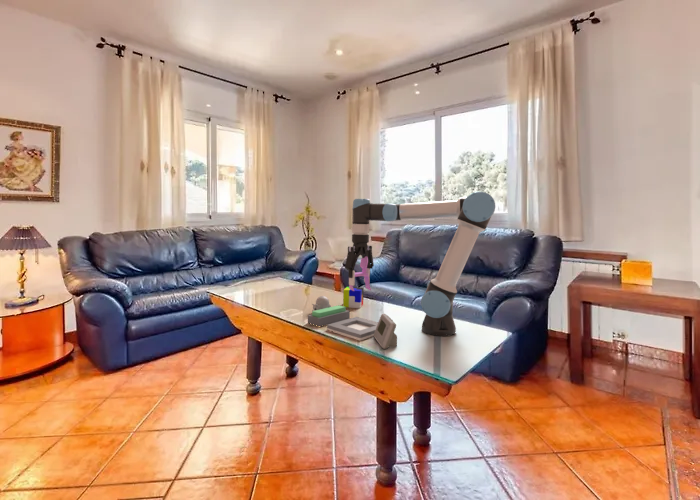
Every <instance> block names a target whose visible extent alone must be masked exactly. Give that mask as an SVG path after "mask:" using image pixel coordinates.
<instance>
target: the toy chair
mask: <svg viewBox="0 0 700 500" xmlns="http://www.w3.org/2000/svg"><path fill="white" fill-rule="evenodd" d="M367 265H368V257H367V256H366V257H364V258H361V259H360V262H359V266H360V268H361V271H359V272H358V271H357V272H356V271H355V278H357V277H363V279H364V278H365V282H364V283H365V288H366V289H367V290H369V291H372V288H371V286H370V285H371V284H370V283H369V276H368V274H366V271H367ZM348 287H349V289H351V290H352V291H354V288H353V287H354V286H353V285H349V284H348Z"/></svg>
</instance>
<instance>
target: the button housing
mask: <svg viewBox="0 0 700 500" xmlns="http://www.w3.org/2000/svg"><path fill="white" fill-rule="evenodd" d="M350 312H351V311H350V310H347V309H346V311H344V312H340V313H336V314H332V315H328V316H324V317H320V318H318V317H315V316H312V313H311V314H307V324H308V323H311V324H314V325H317V326H321V327H323V326H322V325H325V326H327V325H328V324H332V323H335V322H339V321H343V320H346V319H350V317H351V316H350ZM311 324H310V325H311ZM314 325H313V326H314ZM317 326H316V327H317Z"/></svg>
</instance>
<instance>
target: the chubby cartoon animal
mask: <svg viewBox="0 0 700 500" xmlns="http://www.w3.org/2000/svg"><path fill="white" fill-rule="evenodd" d="M311 304H312V310H311V312H312V311H315V310H320V309H324V308H329V307H332V305H331V304H330V300H329V298H328V297H327V296H325V295H321V296H318V297H317V299H316V300H315V304H314V303H311Z"/></svg>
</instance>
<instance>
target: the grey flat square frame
mask: <svg viewBox="0 0 700 500" xmlns="http://www.w3.org/2000/svg"><path fill="white" fill-rule="evenodd" d="M378 322H379V321H378ZM378 322H377V321H374V320H370V319H368V318H363V317H359V316H355V317H351V318H350V319H346V320H343V321H339V322H335V323H332V324H328V325H326V331H328V330H330V331H329V332H331V331H333V332H332V333H335V334H338V335H341V336H344V337H347V338H350V339H354V340H357V341H360V342H361V341H363V340H366V339H369V338H372V337H374V332H375V330H376V327H377V325H378Z"/></svg>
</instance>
